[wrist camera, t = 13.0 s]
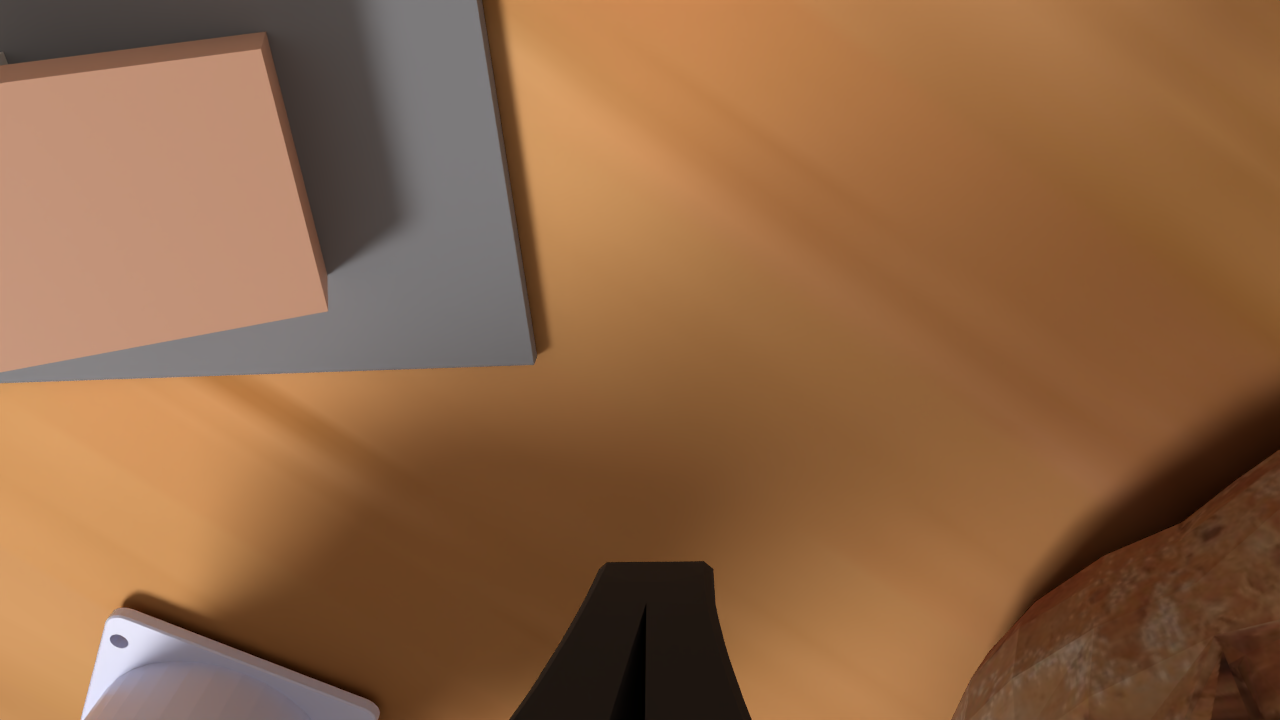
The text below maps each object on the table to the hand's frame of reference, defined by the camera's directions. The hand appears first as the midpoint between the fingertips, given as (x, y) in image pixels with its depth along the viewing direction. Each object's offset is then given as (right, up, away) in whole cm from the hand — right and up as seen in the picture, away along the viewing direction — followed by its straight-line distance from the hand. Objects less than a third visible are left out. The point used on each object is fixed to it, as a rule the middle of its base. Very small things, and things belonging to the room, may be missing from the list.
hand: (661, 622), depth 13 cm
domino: (-7, +7, +7) cm, 12 cm away
